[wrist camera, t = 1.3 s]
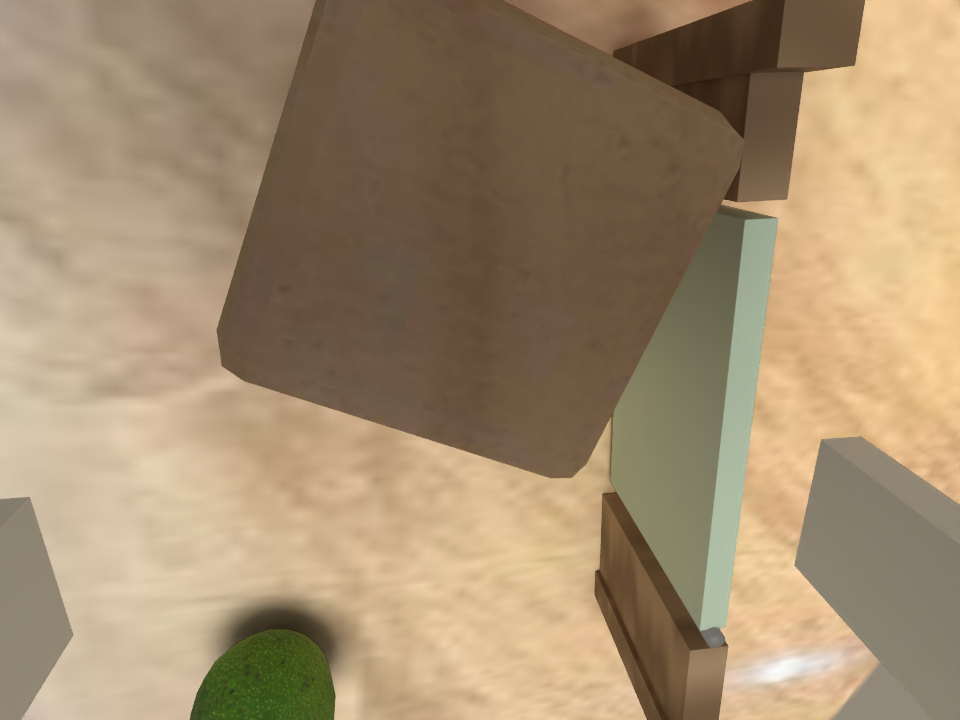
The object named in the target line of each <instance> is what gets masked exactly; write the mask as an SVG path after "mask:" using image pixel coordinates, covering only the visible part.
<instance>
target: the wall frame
mask: <svg viewBox="0 0 960 720" xmlns="http://www.w3.org/2000/svg"><path fill="white" fill-rule="evenodd" d="M864 4H865V0H753V1H750V2H747V3H745V4H742V5H739V6H736V7H733V8H731V9H728V10H725V11H722V12H720V13H717V14H714V15H711V16H709V17H706V18H703V19H700V20H698V21H695V22H692V23H689V24H687V25H684V26H681V27H678V28H676V29H673V30H670V31H667V32H665V33H662V34H659V35H656V36H654V37H651V38H648V39H645V40H643V41H640V42H637V43H634V44H632V45H629V46H626V47H623V48H621V49H618V50H615V51H614V56H613V57H614V58H616V59H618V60H620V61H622V62H624V63H626V64H628V65H630V66H632V67H634V68H636V69H638V70H640V71H642V72H644V73H646V74H648V75H649V76H651V77H653V78H655V79H657V80H659V81H661V82H663V83H665V84H667V85H669V86H671V87H673V88H675V89H677V90H679V91H681V92H683V93H685V94H687V95H689V96H691V97H693V98H695V99H697V100H698V101H700V102H702V103H704V104H706V105H708V106H710V107H712V108H714V109H716V110H718V111H720V112H721V113H722V114H723V116H724V117H725V118H726V120H727V121H728V122H729V124H730V125H731V126H732V128H733V129H734V130H735V131H736V132H737V133H738V134H739V135H740V136H741V137H742V138H743V139H744V140H745V141H744V146H743V152H742V157H741V162H740V168H739V170H738V172H737V174H736V175H735V177H734V179H733V181H732V183H731V185H730V187H729V189H728V191H727V193H726V195H725V197H724V199H725V200H730V201H734V202H748V201H767V200H786V199H787V196H788V189H789V181H790V173H791V166H792V158H793V151H794V143H795V136H796V128H797V120H798V113H799V105H800V98H801V90H802V82H803V75H804V72H811V71H818V70H825V69H833V68H840V67H847V66H854V65H855V61H856V55H857V48H858V42H859V36H860V29H861V23H862V16H863V10H864ZM595 597H596V599H597V602H598V604H599V606H600V609H601V611H602V614H603V616H604V618H605V621H606V623H607V625H608V628H609V630H610V633H611V635H612V637H613V640H614V642H615V644H616V647H617V649H618V652H619V654H620V656H621V659H622V661H623V664H624V666H625V668H626V671H627V673H628V675H629V678H630V680H631V683H632V685H633V687H634V690H635V692H636V694H637V697H638V699H639V702H640V704H641V706H642V709H643V711H644V714H645V716H646V718H647V720H719V712H720V705H721V697H722V690H723V682H724V675H725V667H726V659H727V652H728V645H727V643H726V642H724V644H723V645H722V646H720V647H718V648H710V647H709V646H708V644H707V642H706V641H705V639H704V637H703V636H702V634H701V632H700V631H699V629H698V627H697V626H696V624H695V622H694V621H693V619H692V617H691V616H690V614H689V612H688V611H687V609H686V607H685V606H684V604H683V602H682V601H681V599H680V597H679V596H678V594H677V592H676V591H675V589H674V587H673V586H672V584H671V582H670V581H669V579H668V577H667V576H666V574H665V572H664V571H663V569H662V567H661V566H660V564H659V562H658V561H657V559H656V557H655V556H654V554H653V552H652V551H651V549H650V547H649V546H648V544H647V542H646V541H645V539H644V537H643V536H642V534H641V532H640V531H639V529H638V527H637V526H636V524H635V522H634V521H633V519H632V517H631V516H630V514H629V512H628V511H627V509H626V507H625V506H624V504H623V502H622V501H621V499H620V497H619V495H618V494H617V493H609V494H603V501H602V527H601V554H600V571H596V572H595Z"/></svg>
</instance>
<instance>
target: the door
mask: <svg viewBox="0 0 960 720" xmlns="http://www.w3.org/2000/svg"><path fill="white" fill-rule="evenodd" d="M777 223H778V218H776V217H772V216H767V215H763V214H759V213H755V212H750V211H746V210H742V209H737V208H733V207H729V206H725V205H720V206H719V208H718V210H717V212H716V214H715V216H714V218H713V220H712V222H711V224H710V226H709V228H708V230H707V232H706V233H705V235H704V237H703V239H702V241H701V243H700V245H699V247H698V249H697V251H696V253H695V255H694V257H693V259H692V261H691V263H690V264H689V266H688V268H687V270H686V272H685V274H684V276H683V278H682V280H681V282H680V284H679V286H678V288H677V290H676V292H675V293H674V295H673V297H672V299H671V301H670V303H669V305H668V307H667V309H666V311H665V313H664V315H663V317H662V319H661V321H660V322H659V324H658V326H657V328H656V330H655V332H654V334H653V336H652V338H651V340H650V342H649V344H648V346H647V348H646V350H645V351H644V353H643V355H642V357H641V359H640V361H639V363H638V365H637V367H636V369H635V371H634V373H633V375H632V377H631V379H630V380H629V382H628V384H627V386H626V388H625V390H624V392H623V394H622V396H621V398H620V400H619V402H618V404H617V406H616V408H615V409H614V411H613V432H612V456H611V480H610V482H611V483H612V485H613V487H614V489H615V490H616V492H617V494H618V495H619V497H620V499H621V501H622V502H623V504H624V506H625V507H626V509H627V511H628V512H629V514H630V516H631V517H632V519H633V521H634V522H635V524H636V526H637V527H638V529H639V531H640V532H641V534H642V536H643V537H644V539H645V541H646V542H647V544H648V546H649V547H650V549H651V551H652V552H653V554H654V556H655V557H656V559H657V561H658V562H659V564H660V566H661V567H662V569H663V571H664V572H665V574H666V576H667V577H668V579H669V581H670V582H671V584H672V586H673V587H674V589H675V591H676V592H677V594H678V596H679V597H680V599H681V601H682V602H683V604H684V606H685V607H686V609H687V611H688V612H689V614H690V616H691V617H692V619H693V621H694V622H695V624H696V626H697V627H698V629H699V631H700V632H701V634H702V636H703V637H704V639H705V641H706V642H707V644H708V646H709V647H710V648H718V647H720V646H722V645H723V644H724V642H725V637H724V635H723V634H722V632H721V631H720V629H719V628H725V627H726V621H727V613H728V606H729V598H730V590H731V582H732V574H733V567H734V559H735V551H736V543H737V535H738V528H739V520H740V512H741V504H742V496H743V489H744V481H745V473H746V465H747V457H748V450H749V442H750V434H751V426H752V418H753V411H754V403H755V395H756V387H757V379H758V372H759V364H760V356H761V348H762V340H763V333H764V325H765V317H766V309H767V301H768V294H769V286H770V278H771V270H772V262H773V255H774V247H775V239H776V231H777Z"/></svg>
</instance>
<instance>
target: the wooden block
mask: <svg viewBox="0 0 960 720" xmlns="http://www.w3.org/2000/svg"><path fill="white" fill-rule="evenodd" d="M744 141H745V140H744V139H743V138H742V137H741V136H740V135H739V134H738V133H737V132H736V131H735V130H734V129H733V128H732V126H731V125H730V124H729V122H728V121H727V120H726V118H725V117H724V116H723V114H722V113H721V112H720V111H718V110H716V109H714V108H712V107H710V106H708V105H706V104H704V103H702V102H700V101H698V100H697V99H695V98H693V97H691V96H689V95H687V94H685V93H683V92H681V91H679V90H677V89H675V88H673V87H671V86H669V85H667V84H665V83H663V82H661V81H659V80H657V79H655V78H653V77H651V76H649V75H648V74H646V73H644V72H642V71H640V70H638V69H636V68H634V67H632V66H630V65H628V64H626V63H624V62H622V61H620V60H618V59H616V58H614V57H612V56H610V55H608V54H606V53H604V52H602V51H600V50H599V49H597V48H595V47H593V46H591V45H589V44H587V43H585V42H583V41H581V40H579V39H577V38H575V37H573V36H571V35H569V34H567V33H565V32H563V31H561V30H559V29H557V28H555V27H553V26H551V25H549V24H548V23H546V22H544V21H542V20H540V19H538V18H536V17H534V16H532V15H530V14H528V13H526V12H524V11H522V10H520V9H518V8H516V7H514V6H512V5H510V4H508V3H506V2H504V1H502V0H316V3H315V6H314V10H313V13H312V16H311V20H310V23H309V26H308V30H307V33H306V36H305V39H304V43H303V46H302V49H301V53H300V56H299V59H298V63H297V66H296V69H295V73H294V76H293V79H292V82H291V86H290V89H289V92H288V96H287V99H286V102H285V106H284V109H283V112H282V116H281V119H280V122H279V125H278V129H277V132H276V135H275V139H274V142H273V145H272V149H271V152H270V155H269V159H268V162H267V165H266V168H265V172H264V175H263V178H262V182H261V185H260V188H259V192H258V195H257V198H256V202H255V205H254V208H253V212H252V215H251V218H250V221H249V225H248V228H247V231H246V235H245V238H244V241H243V245H242V248H241V251H240V255H239V258H238V261H237V264H236V268H235V271H234V274H233V278H232V281H231V284H230V288H229V291H228V294H227V298H226V301H225V304H224V307H223V311H222V314H221V317H220V321H219V324H218V327H217V335H218V342H219V349H220V356H221V363H222V366H223V367H224V368H226V369H227V370H229V371H230V372H231V373H233V374H234V375H236V376H237V377H239V378H240V379H242V380H243V381H246V382H249V383H252V384H255V385H258V386H262V387H265V388H268V389H271V390H274V391H277V392H280V393H284V394H287V395H290V396H293V397H296V398H299V399H303V400H306V401H309V402H312V403H315V404H318V405H321V406H325V407H328V408H331V409H334V410H337V411H340V412H344V413H347V414H350V415H353V416H356V417H359V418H363V419H366V420H369V421H372V422H375V423H378V424H381V425H385V426H388V427H391V428H394V429H397V430H400V431H404V432H407V433H410V434H413V435H416V436H419V437H422V438H426V439H429V440H432V441H435V442H438V443H441V444H445V445H448V446H451V447H454V448H457V449H460V450H464V451H467V452H470V453H473V454H476V455H479V456H482V457H486V458H489V459H492V460H495V461H498V462H501V463H505V464H508V465H511V466H514V467H517V468H520V469H523V470H527V471H530V472H533V473H536V474H539V475H542V476H546V477H549V478H572V477H573V476H574V475H575V474H576V473H577V472H578V471H579V470H580V469H581V468H582V467H583V466H584V465H585V464H587V462H588V460H589V458H590V456H591V454H592V452H593V450H594V448H595V446H596V444H597V442H598V440H599V438H600V437H601V435H602V433H603V431H604V429H605V427H606V425H607V423H608V421H609V419H610V417H611V415H612V413H613V411H614V409H615V408H616V406H617V404H618V402H619V400H620V398H621V396H622V394H623V392H624V390H625V388H626V386H627V384H628V382H629V380H630V379H631V377H632V375H633V373H634V371H635V369H636V367H637V365H638V363H639V361H640V359H641V357H642V355H643V353H644V351H645V350H646V348H647V346H648V344H649V342H650V340H651V338H652V336H653V334H654V332H655V330H656V328H657V326H658V324H659V322H660V321H661V319H662V317H663V315H664V313H665V311H666V309H667V307H668V305H669V303H670V301H671V299H672V297H673V295H674V293H675V292H676V290H677V288H678V286H679V284H680V282H681V280H682V278H683V276H684V274H685V272H686V270H687V268H688V266H689V264H690V263H691V261H692V259H693V257H694V255H695V253H696V251H697V249H698V247H699V245H700V243H701V241H702V239H703V237H704V235H705V233H706V232H707V230H708V228H709V226H710V224H711V222H712V220H713V218H714V216H715V214H716V212H717V210H718V208H719V206H720V204H721V203H722V201H723V199H724V197H725V195H726V193H727V191H728V189H729V187H730V185H731V183H732V181H733V179H734V177H735V175H736V174H737V172H738V170H739V168H740V162H741V157H742V152H743V146H744Z"/></svg>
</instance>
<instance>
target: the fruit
mask: <svg viewBox="0 0 960 720" xmlns="http://www.w3.org/2000/svg"><path fill="white" fill-rule="evenodd" d="M334 710H335V691H334V686H333V681H332V676H331V672H330V668H329V664H328V662H327V660H326V658H325V656H324V654H323V652H322V651H321V649H320V648H319V647H318V645H317V644H316V643H314V642H313V641H312V640H311V639H309V638H308V637H307V636H306V635H304V634H301V633H298V632H295V631H292V630H289V629H268V630H265V631H262V632H259V633H256V634H253V635H251V636H249V637H247V638H246V639H244V640H242V641H240V642H238V643H237V644H236V645H234V646H233V647H232V648H231V649H229V650H228V651H227V652H226V653H225V654H223V655H222V656H221V657H220V658H219V659H218V660H216V661H215V663H214V664H213V666H212V668H211V669H210V671H209V672H208V674H207V675H206V677H205V678H204V680H203V682H202V684H201V686H200V688H199V690H198V692H197V695H196V698H195V702H194V705H193V709H192V712H191V716H190V720H334Z"/></svg>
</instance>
